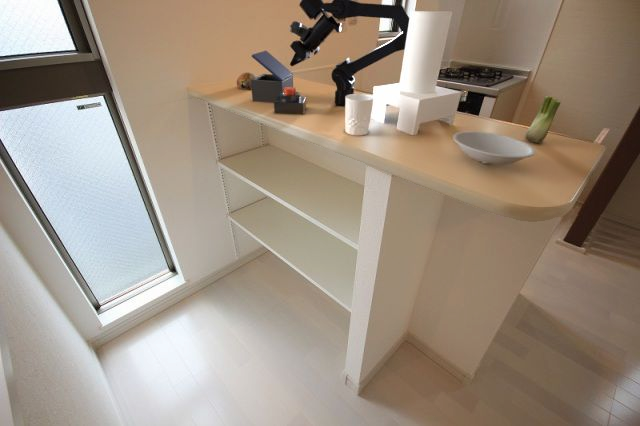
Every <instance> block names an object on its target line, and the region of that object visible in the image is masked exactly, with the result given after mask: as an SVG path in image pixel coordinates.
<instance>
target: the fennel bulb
mask: <svg viewBox="0 0 640 426" xmlns="http://www.w3.org/2000/svg"><path fill="white" fill-rule="evenodd" d="M560 105H561V101H559V100H558V99H556V98H553V96H548V95H547V96H545V97H544V99H543V101H542V104H541V106H540V109H539V111H538V113H537V114H536V116H535V117H534V120H533V121H532V123H531V125H530V126H529V128H528V129H527V130H526V132H525V136H524V137H525V140H527V141H528V142H530V143H536V144H540V143H543V141H544V140H545V139H546V138H547V136H548V133H549V130H550V128H551V125H552V123H553V120H554V117H555V116H556V113H557V112H558V111H557V110H558V108H559V107H560Z"/></svg>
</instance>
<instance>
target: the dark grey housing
mask: <svg viewBox="0 0 640 426" xmlns="http://www.w3.org/2000/svg"><path fill="white" fill-rule="evenodd" d="M250 82H251V89H250V90H251V99H252V102H260V103H269V104H274V101H275V100H276V99H277V97H278V96H280V93H281V92H284V88H285V87H294V75H292V76H290V77H288V78H287V79H285V80H283V81H280V80H279V79H278V78H276V77H275V76H274V75H273V74H272V73H262V74H260V75H258V76H256V78H253V79H251V80H250Z"/></svg>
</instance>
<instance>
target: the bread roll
mask: <svg viewBox="0 0 640 426" xmlns="http://www.w3.org/2000/svg"><path fill="white" fill-rule="evenodd" d="M256 77H257V75H255V74H254V73H253V72H249V71H246V72H243V73H241V74H240V75H239V76H238V77H237V79H236V87H237V88H238V89H239V90H248V91H249V90H251V82H250V80H251V79H253V78H256Z"/></svg>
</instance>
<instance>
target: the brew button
mask: <svg viewBox="0 0 640 426" xmlns="http://www.w3.org/2000/svg"><path fill="white" fill-rule="evenodd" d="M296 90H297V89H296V87H295V86H293V87H285V88H284V94H285V95H295V94H296V92H297V91H296Z"/></svg>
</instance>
